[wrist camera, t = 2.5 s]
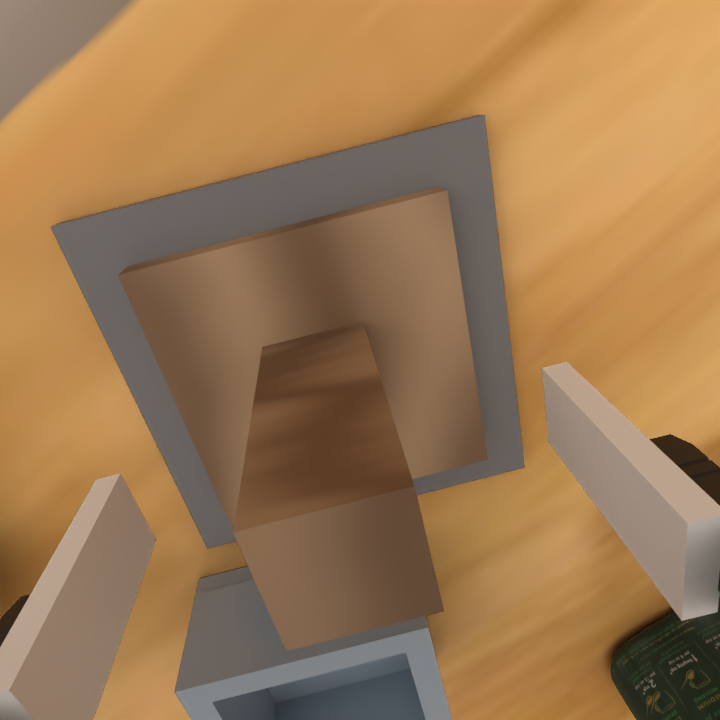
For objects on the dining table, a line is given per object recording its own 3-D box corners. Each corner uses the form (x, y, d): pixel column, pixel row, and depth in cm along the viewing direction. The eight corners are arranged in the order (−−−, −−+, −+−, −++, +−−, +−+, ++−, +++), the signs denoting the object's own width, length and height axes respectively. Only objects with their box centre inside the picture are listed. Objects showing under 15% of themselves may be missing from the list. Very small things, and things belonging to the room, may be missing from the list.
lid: (233, 507, 25) (188, 777, 15) (127, 266, 20) (-55, 425, 9) (479, 444, 25) (604, 671, 15) (439, 186, 20) (589, 260, 9)
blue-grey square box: (263, 703, 32) (255, 821, 27) (198, 578, 27) (174, 692, 22) (436, 658, 32) (464, 768, 27) (402, 526, 27) (428, 627, 22)
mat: (210, 536, 26) (207, 548, 26) (59, 222, 19) (50, 227, 19) (518, 457, 26) (524, 467, 26) (477, 115, 19) (484, 115, 19)
